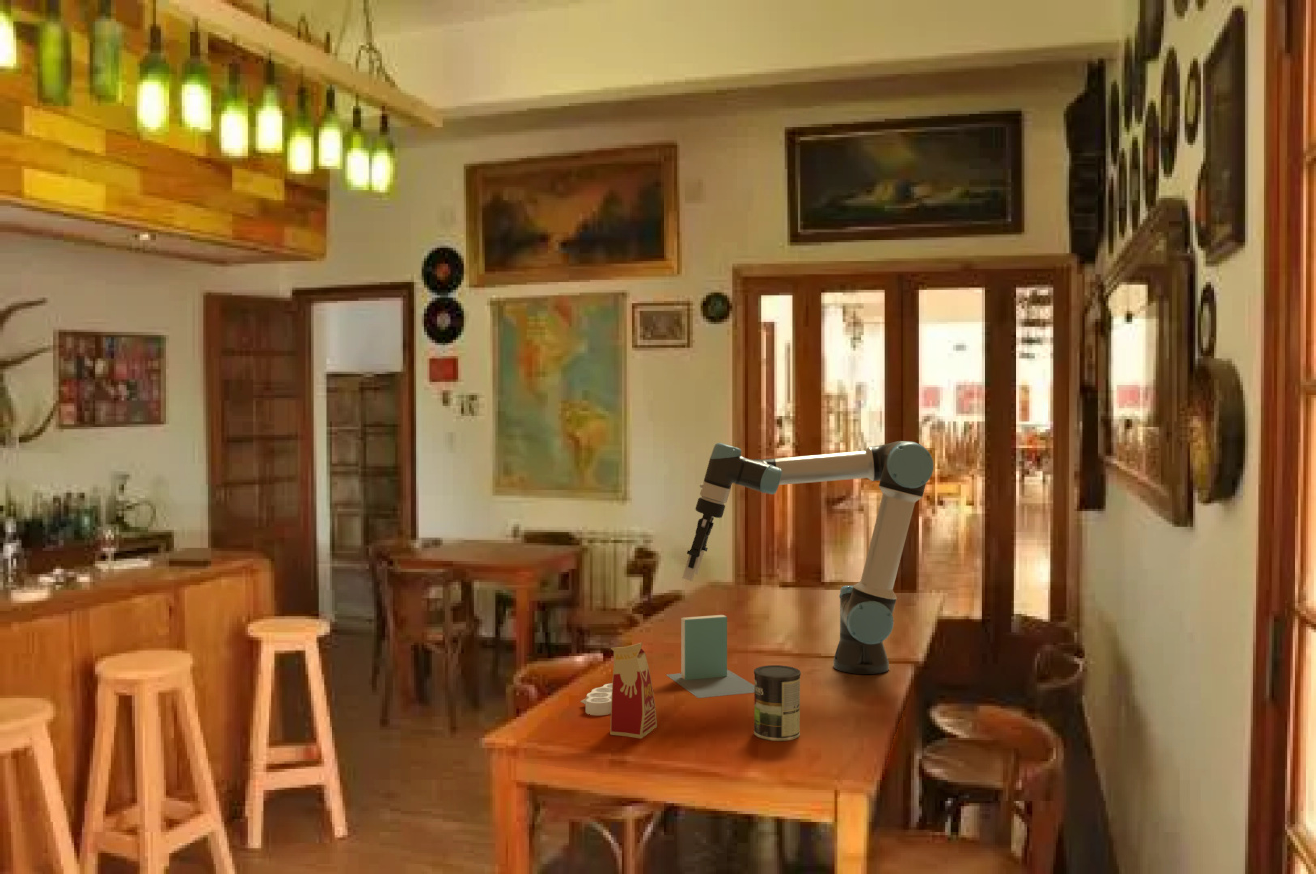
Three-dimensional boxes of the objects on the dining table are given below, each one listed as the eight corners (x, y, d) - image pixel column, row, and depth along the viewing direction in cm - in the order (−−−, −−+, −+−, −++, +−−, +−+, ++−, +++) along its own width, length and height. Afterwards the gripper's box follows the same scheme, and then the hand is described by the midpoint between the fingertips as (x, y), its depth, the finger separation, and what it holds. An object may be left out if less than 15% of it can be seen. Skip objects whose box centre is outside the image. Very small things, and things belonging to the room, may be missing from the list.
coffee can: (758, 742, 221) (758, 677, 221) (750, 727, 231) (750, 665, 231) (805, 740, 222) (805, 676, 222) (794, 726, 232) (795, 664, 232)
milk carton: (657, 726, 232) (656, 639, 231) (643, 739, 223) (642, 648, 223) (619, 722, 235) (619, 636, 234) (604, 734, 226) (604, 644, 226)
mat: (665, 676, 276) (665, 674, 276) (727, 671, 282) (727, 669, 282) (698, 700, 253) (698, 698, 253) (764, 693, 259) (764, 691, 259)
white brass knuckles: (630, 720, 238) (571, 715, 242) (651, 699, 256) (595, 695, 260) (630, 705, 238) (571, 701, 242) (651, 685, 256) (595, 681, 260)
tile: (681, 677, 273) (681, 617, 273) (722, 673, 277) (722, 614, 277) (685, 680, 270) (685, 620, 270) (727, 676, 274) (727, 616, 274)
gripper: (703, 493, 286) (682, 566, 287) (694, 499, 262) (670, 578, 262) (729, 501, 285) (707, 574, 286) (722, 507, 261) (698, 587, 261)
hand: (690, 576), depth 274 cm, fingers open, 13 cm apart
